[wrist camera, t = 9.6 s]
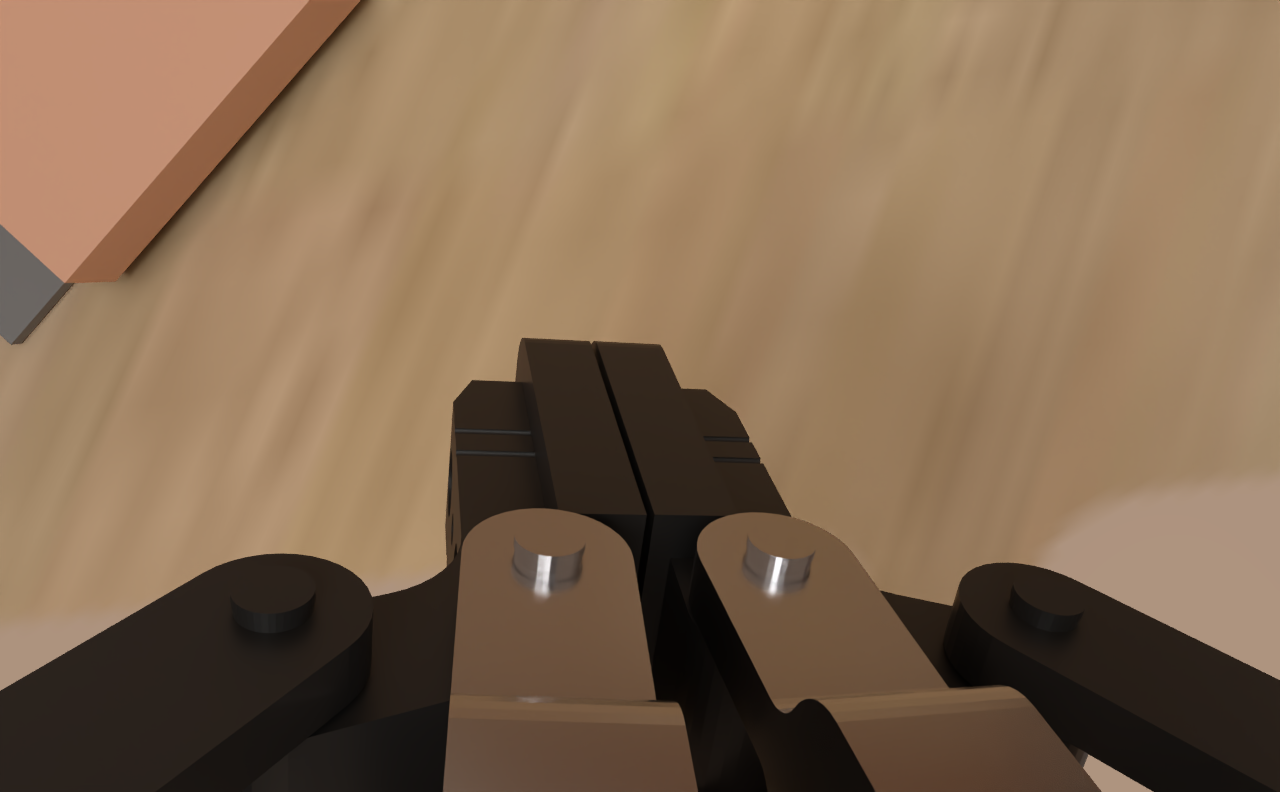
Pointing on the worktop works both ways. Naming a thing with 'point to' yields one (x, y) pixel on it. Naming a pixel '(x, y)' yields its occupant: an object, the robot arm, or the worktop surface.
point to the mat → (24, 289)
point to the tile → (132, 112)
